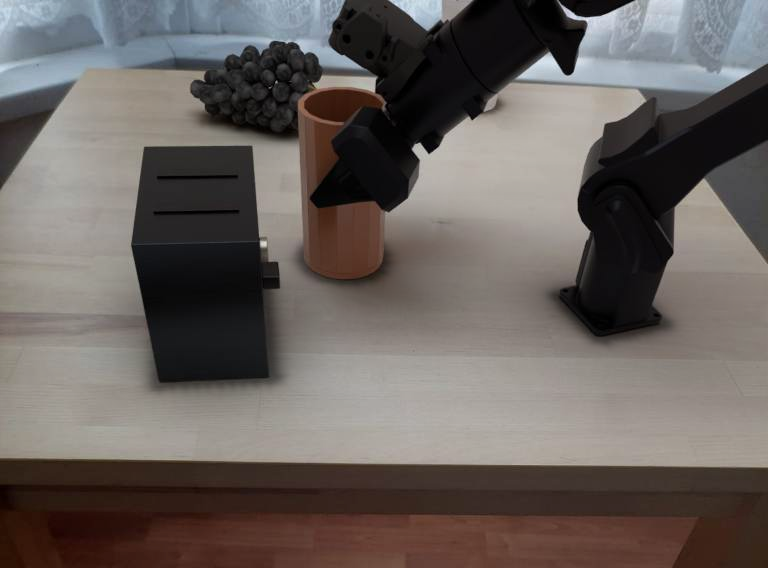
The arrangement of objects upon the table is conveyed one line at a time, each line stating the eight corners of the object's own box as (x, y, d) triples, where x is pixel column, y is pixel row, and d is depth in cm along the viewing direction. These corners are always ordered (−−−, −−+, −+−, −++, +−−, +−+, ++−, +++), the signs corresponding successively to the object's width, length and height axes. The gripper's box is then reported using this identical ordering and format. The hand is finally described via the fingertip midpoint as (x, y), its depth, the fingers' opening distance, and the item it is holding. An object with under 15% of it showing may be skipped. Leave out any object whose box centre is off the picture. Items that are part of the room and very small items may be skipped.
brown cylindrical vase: (380, 236, 72) (386, 87, 63) (385, 279, 68) (392, 125, 58) (304, 236, 72) (297, 85, 62) (304, 279, 67) (297, 124, 58)
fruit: (172, 28, 80) (314, 43, 78) (204, 32, 87) (334, 46, 86) (175, 122, 85) (310, 138, 83) (205, 119, 92) (330, 134, 90)
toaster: (275, 274, 68) (268, 143, 59) (285, 376, 59) (278, 238, 50) (166, 277, 66) (143, 143, 58) (158, 382, 57) (130, 242, 49)
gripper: (433, -84, 58) (296, 58, 68) (365, -12, 46) (210, 148, 55) (520, 50, 63) (380, 164, 72) (479, 146, 51) (318, 268, 60)
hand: (327, 182), depth 65 cm, fingers closed on brown cylindrical vase, 7 cm apart
